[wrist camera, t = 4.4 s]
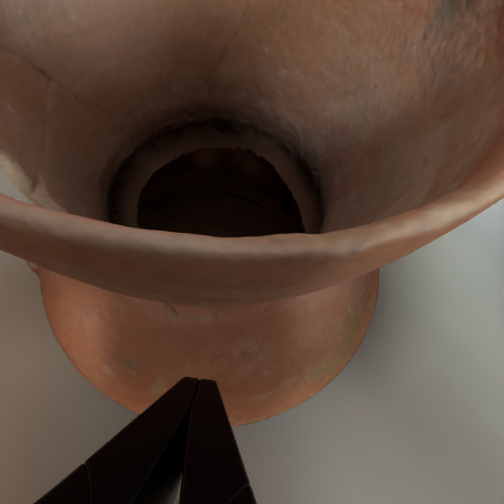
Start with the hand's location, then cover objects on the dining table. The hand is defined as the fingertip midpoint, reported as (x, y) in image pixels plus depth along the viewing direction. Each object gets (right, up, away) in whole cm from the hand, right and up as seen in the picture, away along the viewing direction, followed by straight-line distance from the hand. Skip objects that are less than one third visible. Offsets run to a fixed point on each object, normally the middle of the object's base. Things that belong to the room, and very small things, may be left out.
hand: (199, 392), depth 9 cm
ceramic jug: (0, +2, +9) cm, 10 cm away
